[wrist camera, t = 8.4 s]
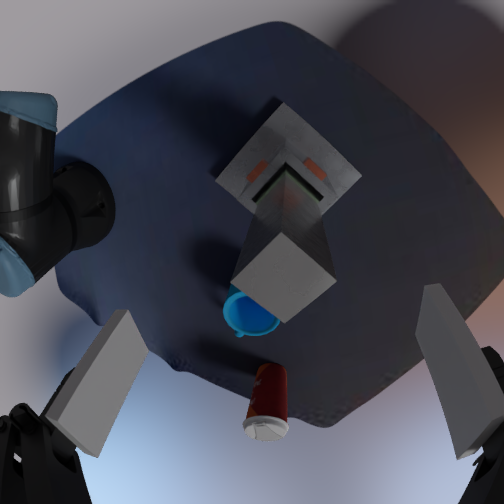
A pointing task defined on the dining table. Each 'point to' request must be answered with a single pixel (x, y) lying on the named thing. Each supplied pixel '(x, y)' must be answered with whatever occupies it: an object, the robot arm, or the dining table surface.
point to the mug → (247, 314)
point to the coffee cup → (268, 404)
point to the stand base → (288, 161)
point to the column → (285, 248)
